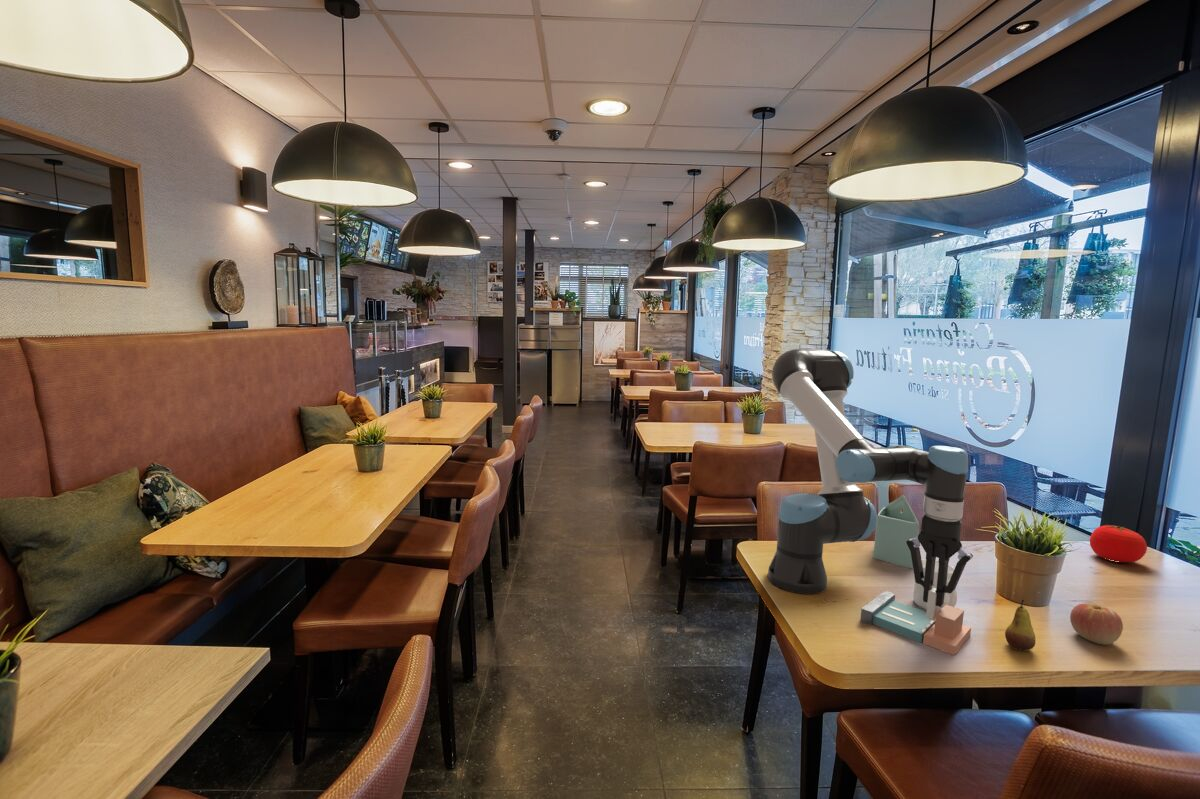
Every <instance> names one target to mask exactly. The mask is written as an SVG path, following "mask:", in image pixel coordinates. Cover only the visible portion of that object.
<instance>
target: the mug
mask: <svg viewBox="0 0 1200 799" xmlns="http://www.w3.org/2000/svg"><path fill="white" fill-rule="evenodd" d="M921 560H922V566H923V572H924V576H925V567H926V559H921ZM938 568H939V560H936V561H935V570H934V580H933V584H934V585H933V586H932V587H934V588H937V578H938ZM954 569H955V567H954V566H952V565H950V564H948V572H947V582H946V586H947V585H948V583H949V581H950V578H951V576H952V574H953V571H954ZM923 593H924V587H923V586H922V585H920V584H917V583H916V582H915V581H914V588H913V602H914V604H916V605H917V607H920V608H921V609H924V610H925V611H927V602H924V601H923ZM957 601H958V593H957V587H956V588H955V590H954V591H953V592H952V593H945V595H944V603H943V605H942V606H941V607H939V606H938V612H939V611H940V610H941V609H942V608H943V607H944V606H945V605H949V606H952V607H956V605H957Z"/></svg>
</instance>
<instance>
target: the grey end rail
mask: <svg viewBox="0 0 1200 799" xmlns="http://www.w3.org/2000/svg"><path fill="white" fill-rule="evenodd" d="M893 600H894V601H896V593H893V592H890V591H888V590H884V591H883V592H882V593H880V594H878V595H877V596H876V597H874V599H872V600H871V601H869V602H868V603H867V604H865V605H864V606H863V607H861V612H860V618H859V619H860V620H859V622H861V623H864V624H865V625H869V626H872V625H874V624H873V616H874V615H875V614H876V613H878V612H879V611H880V610H881V609H883V608H884V607H885V606H886V605H888V604H889V603H890V602H891V601H893Z"/></svg>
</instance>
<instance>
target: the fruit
mask: <svg viewBox="0 0 1200 799" xmlns="http://www.w3.org/2000/svg"><path fill="white" fill-rule="evenodd" d="M1020 602H1021V604H1020V605H1019V606H1017V608H1016V610H1015V613H1014V616H1013V619H1012V621H1011V623H1010V624H1009V625H1008V626H1007V627H1006V629H1005V631H1004V637H1005V639H1006V642H1007V643H1008V645H1009V646H1010V647H1011V648H1013V650H1017V651H1018V650H1019V651H1030V650H1032V649H1033V648H1034V647H1035V645H1036V633H1035V631H1034V627H1033V624H1032V621H1031V616H1030V613H1029V612H1028V609H1027V608H1026V607H1025V606H1023V604H1024V602H1025V600H1024V599H1021V601H1020Z"/></svg>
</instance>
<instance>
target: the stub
mask: <svg viewBox="0 0 1200 799" xmlns="http://www.w3.org/2000/svg"><path fill="white" fill-rule="evenodd" d="M964 614H965V610H963V609H960V608H957V607H956V606H954V607H952V606H949V605H945V606H944V607H943V608H942V609H941V610H940V611H939V612H938V613H937V614H936V619H935V624H934V625H933V626H932V627H931V628H930V629H929V630H928V631H927V632H926V633H925V634H924V640H923V641H922V644H923V645H927V646H930V647H932V648H934V649H937V650H939V651H942V652H945V653H947V654H950V655H953V656H955V655H956V654H957V652H959V650H960V649H961V647H963V645H964V644H965V643H966V641H967V640H968V639H969V638H970V637H971V631H972V627H971V626H969V625H965V624H963V623H964V616H965V615H964Z"/></svg>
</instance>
